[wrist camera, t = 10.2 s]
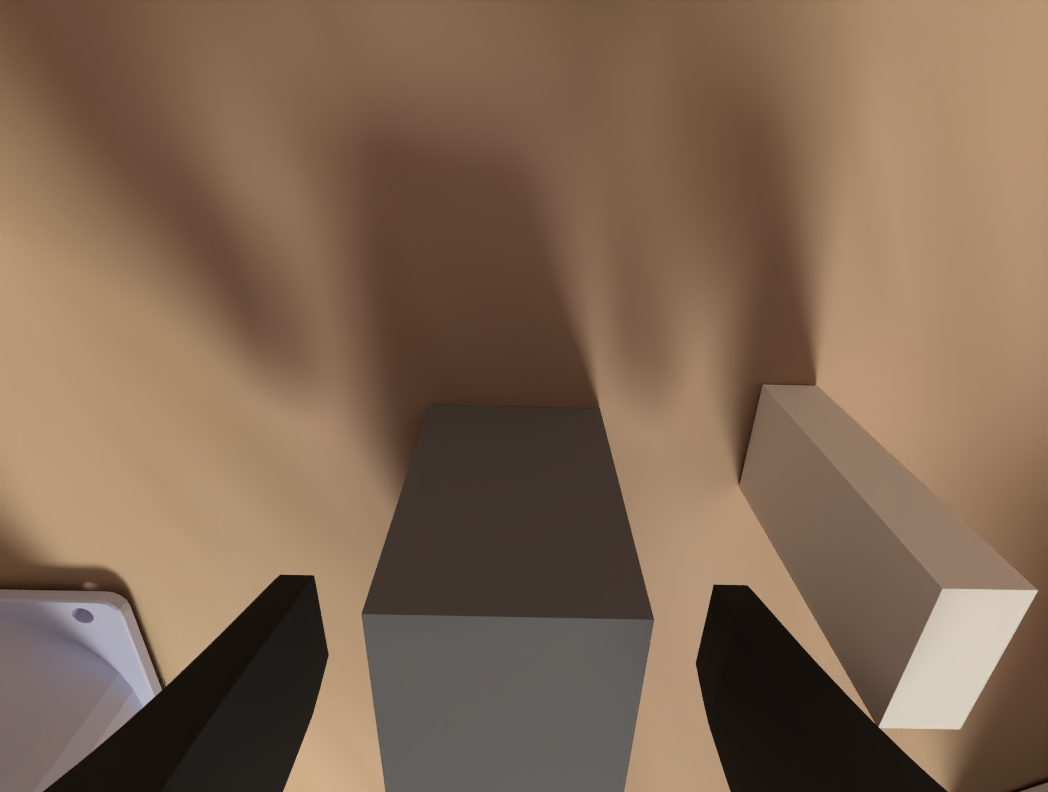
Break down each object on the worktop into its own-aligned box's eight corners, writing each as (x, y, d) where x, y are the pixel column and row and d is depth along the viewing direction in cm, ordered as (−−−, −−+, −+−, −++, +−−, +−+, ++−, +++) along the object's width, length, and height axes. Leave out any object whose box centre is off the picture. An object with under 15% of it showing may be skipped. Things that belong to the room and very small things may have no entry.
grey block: (438, 573, 15) (390, 831, 10) (430, 404, 13) (361, 613, 7) (583, 576, 15) (616, 834, 10) (599, 407, 13) (654, 620, 7)
